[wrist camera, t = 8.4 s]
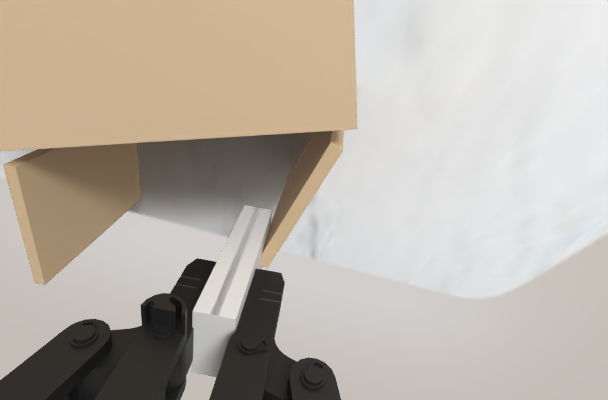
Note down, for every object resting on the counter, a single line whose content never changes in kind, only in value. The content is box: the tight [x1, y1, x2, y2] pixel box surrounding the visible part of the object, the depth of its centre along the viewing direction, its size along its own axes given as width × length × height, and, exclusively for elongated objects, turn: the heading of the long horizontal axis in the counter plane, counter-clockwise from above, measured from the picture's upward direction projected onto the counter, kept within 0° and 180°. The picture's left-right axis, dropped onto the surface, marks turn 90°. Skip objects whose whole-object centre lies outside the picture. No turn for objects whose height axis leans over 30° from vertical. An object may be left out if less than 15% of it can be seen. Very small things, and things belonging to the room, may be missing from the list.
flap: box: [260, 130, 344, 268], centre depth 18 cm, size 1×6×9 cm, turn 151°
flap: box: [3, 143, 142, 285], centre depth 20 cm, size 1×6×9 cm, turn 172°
